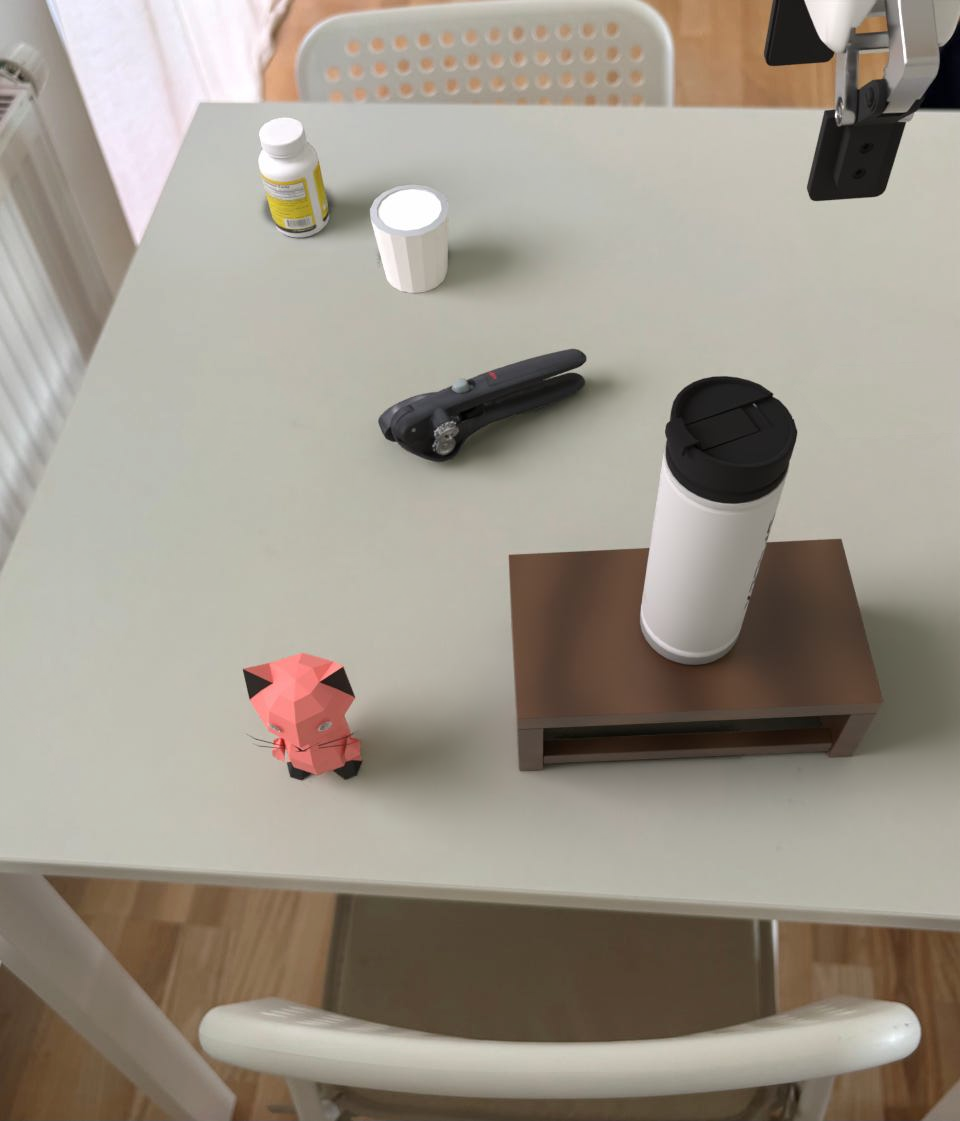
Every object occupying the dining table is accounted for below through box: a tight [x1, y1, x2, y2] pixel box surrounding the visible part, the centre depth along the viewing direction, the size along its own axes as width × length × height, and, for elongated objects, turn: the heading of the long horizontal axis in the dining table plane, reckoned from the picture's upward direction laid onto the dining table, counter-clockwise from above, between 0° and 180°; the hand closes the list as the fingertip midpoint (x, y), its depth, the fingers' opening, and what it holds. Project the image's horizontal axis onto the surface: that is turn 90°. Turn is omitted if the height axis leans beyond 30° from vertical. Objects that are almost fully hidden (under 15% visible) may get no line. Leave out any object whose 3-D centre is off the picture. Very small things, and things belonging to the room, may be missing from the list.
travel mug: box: [640, 375, 798, 665], centre depth 61 cm, size 6×7×20 cm
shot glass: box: [369, 184, 450, 294], centre depth 98 cm, size 7×7×7 cm
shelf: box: [508, 538, 884, 772], centre depth 73 cm, size 22×12×8 cm, turn 92°
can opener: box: [377, 348, 588, 463], centre depth 88 cm, size 18×7×6 cm, turn 115°
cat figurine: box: [242, 652, 363, 781], centre depth 69 cm, size 7×7×12 cm
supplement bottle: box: [258, 117, 330, 238], centre depth 101 cm, size 5×5×10 cm
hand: (819, 124), depth 49 cm, fingers open, 9 cm apart
